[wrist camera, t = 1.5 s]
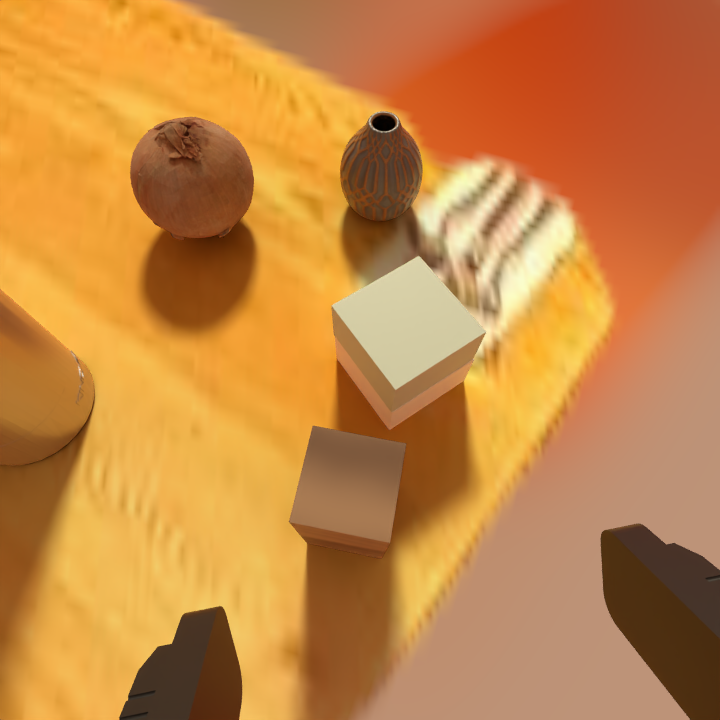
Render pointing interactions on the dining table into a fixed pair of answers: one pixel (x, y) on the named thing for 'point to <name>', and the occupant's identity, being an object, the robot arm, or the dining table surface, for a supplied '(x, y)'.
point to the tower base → (408, 408)
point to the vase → (381, 169)
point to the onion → (192, 178)
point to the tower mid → (406, 332)
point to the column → (348, 491)
